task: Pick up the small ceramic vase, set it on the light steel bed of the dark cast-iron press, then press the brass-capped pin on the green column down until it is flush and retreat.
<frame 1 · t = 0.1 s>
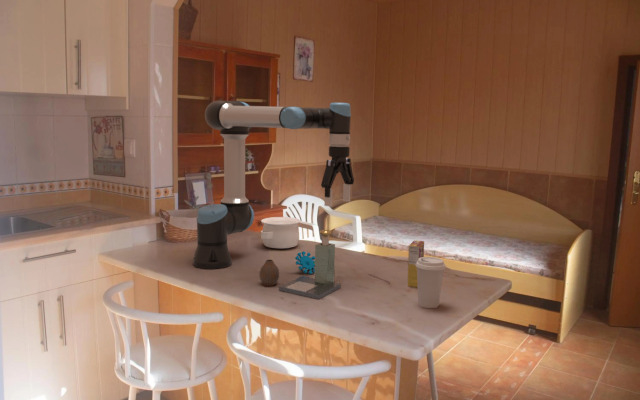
hand: (337, 203, 202), 28 cm above the table, fingers open, 13 cm apart
candy box: (414, 284, 201), on the table
pot: (280, 247, 252), on the table
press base: (309, 289, 191), on the table
coffee cup: (428, 305, 179), on the table
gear: (307, 272, 213), on the table
ram pin: (325, 246, 192), point 15 cm above the table, slide at 0.0 cm
vase: (269, 284, 196), on the table
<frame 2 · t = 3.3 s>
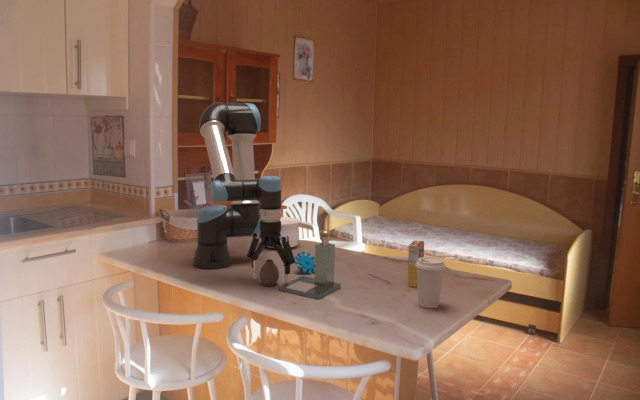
hand: (270, 280, 196), 2 cm above the table, fingers open, 12 cm apart
nothing on the table moved.
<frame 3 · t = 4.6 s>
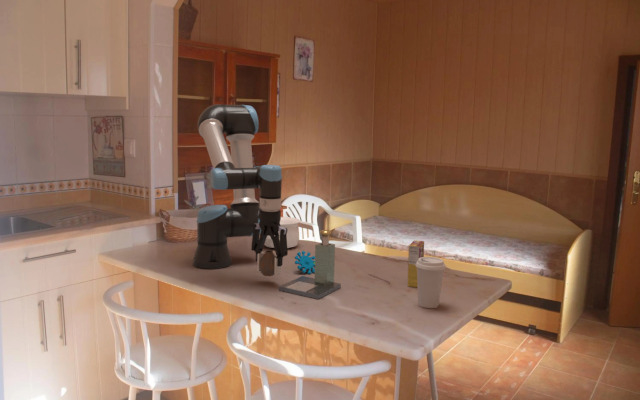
hand: (268, 272, 196), 4 cm above the table, fingers closed on vase, 7 cm apart
vase: (268, 275, 197), point 3 cm above the table, touching gripper
everything else where it was.
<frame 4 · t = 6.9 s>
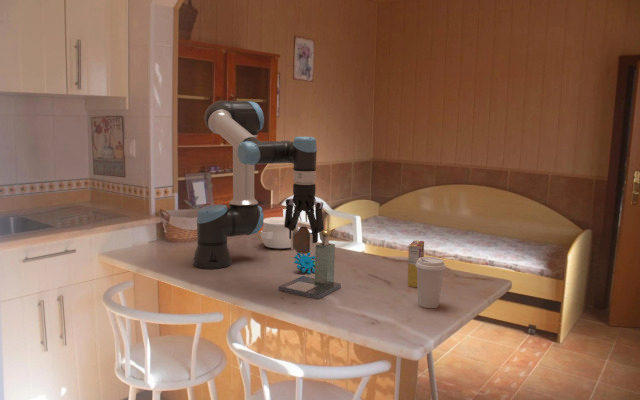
hand: (303, 250, 187), 15 cm above the table, fingers closed on vase, 7 cm apart
vase: (303, 252, 187), point 14 cm above the table, touching gripper
everything else where it was.
when the fingers open (2 cm above the table, at t = 9.3 s): vase stays where it is, resting on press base.
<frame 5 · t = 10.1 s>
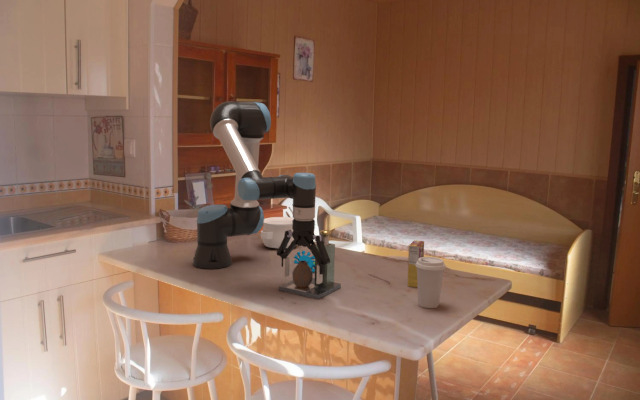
hand: (302, 279, 189), 4 cm above the table, fingers open, 13 cm apart
vase: (302, 286, 189), point 2 cm above the table, touching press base
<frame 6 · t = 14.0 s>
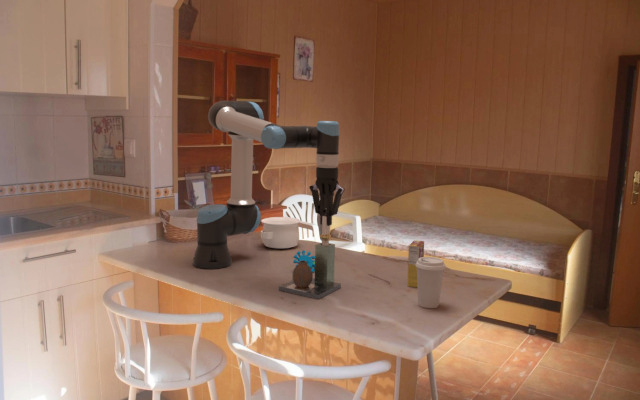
hand: (325, 234, 191), 19 cm above the table, fingers closed
ram pin: (325, 250, 192), point 14 cm above the table, slide at 1.4 cm, touching gripper
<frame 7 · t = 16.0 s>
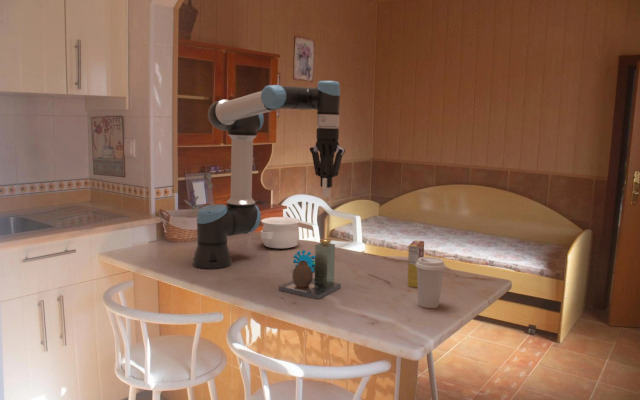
hand: (325, 196, 189), 32 cm above the table, fingers closed
ram pin: (324, 254, 192), point 12 cm above the table, slide at 3.1 cm
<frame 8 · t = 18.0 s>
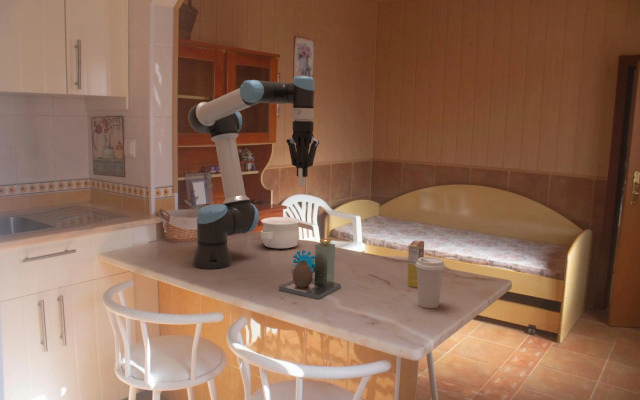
hand: (301, 185, 201), 34 cm above the table, fingers closed
at the end: vase inside the target area on the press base (0.0 cm from its centre), point 1.6 cm above the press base's base; vase tilted 0°; ram pin slide at 3.1 cm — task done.
